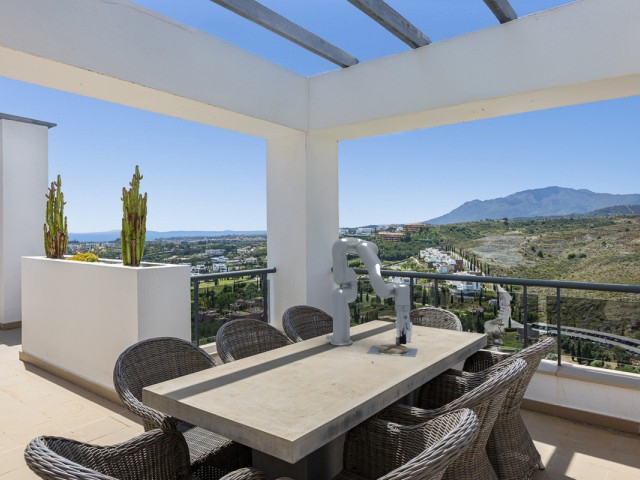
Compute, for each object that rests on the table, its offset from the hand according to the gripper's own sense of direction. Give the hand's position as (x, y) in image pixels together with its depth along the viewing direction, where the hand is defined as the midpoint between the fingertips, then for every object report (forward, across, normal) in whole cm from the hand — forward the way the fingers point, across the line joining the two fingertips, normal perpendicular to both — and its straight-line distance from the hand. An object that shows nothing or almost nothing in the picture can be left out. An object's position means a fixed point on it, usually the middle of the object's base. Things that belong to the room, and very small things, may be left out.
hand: (402, 343), depth 222 cm
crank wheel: (+3, -1, +6) cm, 7 cm away
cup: (+5, +21, -6) cm, 22 cm away
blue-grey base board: (+5, -1, +6) cm, 7 cm away
